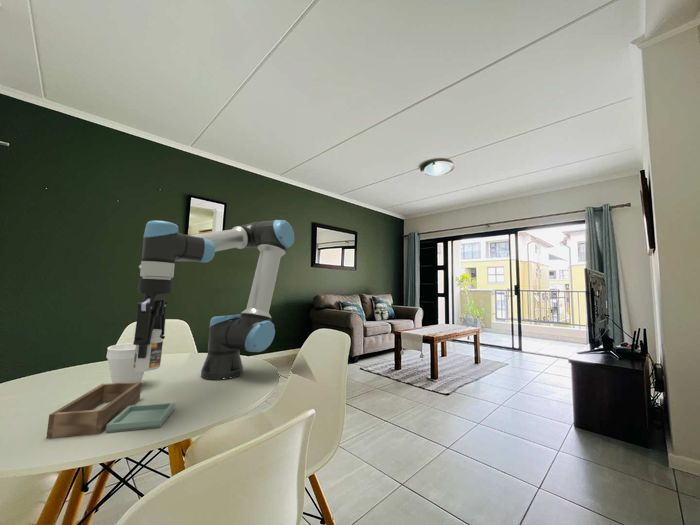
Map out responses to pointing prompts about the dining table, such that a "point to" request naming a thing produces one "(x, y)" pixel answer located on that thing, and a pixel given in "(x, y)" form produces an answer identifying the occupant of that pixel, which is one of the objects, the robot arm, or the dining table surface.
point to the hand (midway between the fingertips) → (147, 367)
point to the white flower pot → (123, 363)
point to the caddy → (87, 421)
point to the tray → (140, 417)
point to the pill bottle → (153, 350)
